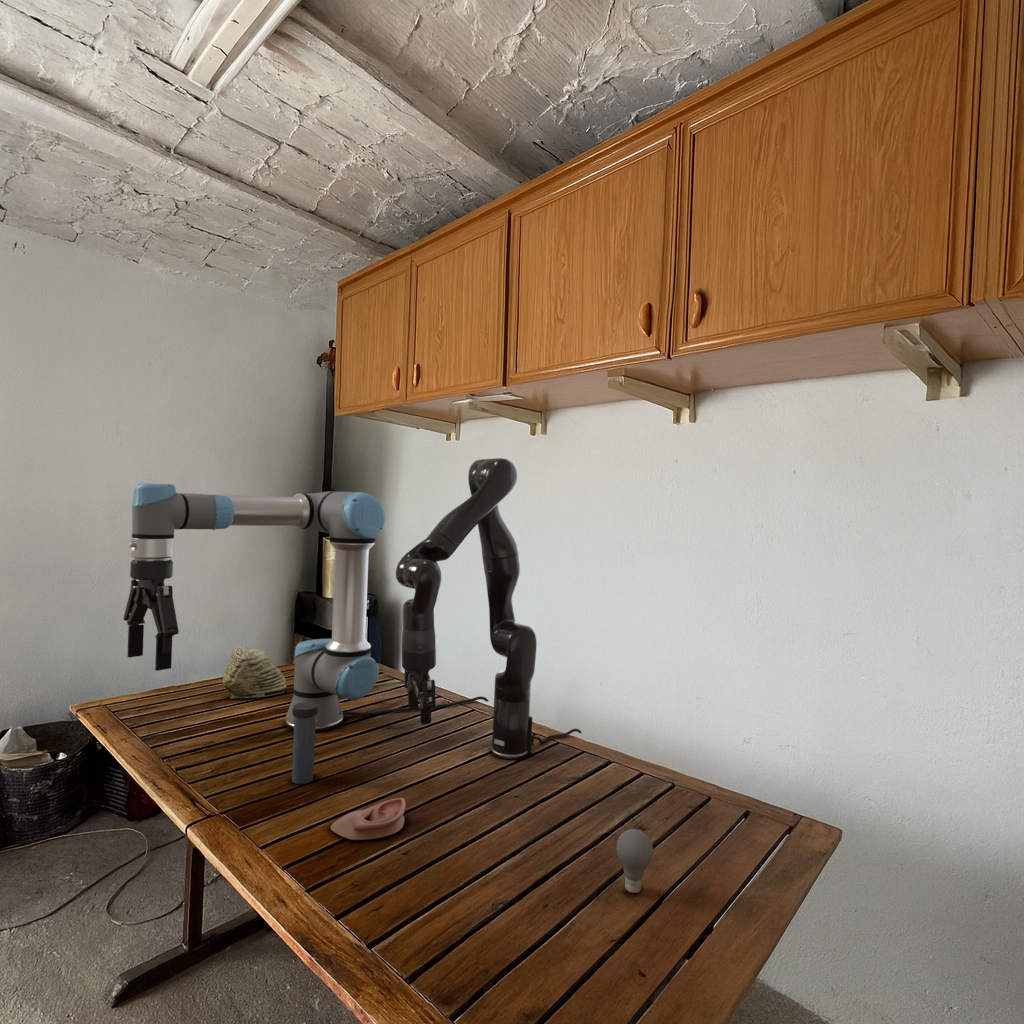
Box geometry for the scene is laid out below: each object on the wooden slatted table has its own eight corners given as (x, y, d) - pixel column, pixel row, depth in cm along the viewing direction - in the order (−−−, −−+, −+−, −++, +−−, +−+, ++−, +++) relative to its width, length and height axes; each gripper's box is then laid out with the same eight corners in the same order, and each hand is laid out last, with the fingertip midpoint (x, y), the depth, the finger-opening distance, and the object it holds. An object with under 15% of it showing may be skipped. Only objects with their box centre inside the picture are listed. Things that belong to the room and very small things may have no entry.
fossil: (218, 695, 195) (220, 647, 195) (278, 685, 208) (279, 640, 207) (228, 703, 189) (230, 653, 188) (289, 692, 201) (290, 645, 201)
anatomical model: (323, 814, 118) (350, 787, 130) (322, 835, 118) (350, 806, 130) (389, 824, 116) (412, 796, 127) (389, 846, 116) (411, 816, 127)
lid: (317, 717, 139) (317, 709, 139) (291, 718, 138) (291, 710, 138) (318, 709, 144) (318, 701, 144) (293, 710, 143) (293, 702, 143)
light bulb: (610, 879, 108) (613, 822, 108) (644, 879, 109) (647, 822, 109) (619, 902, 102) (622, 840, 102) (655, 901, 103) (658, 840, 103)
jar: (312, 783, 140) (315, 710, 140) (290, 784, 139) (293, 711, 138) (313, 774, 144) (316, 704, 144) (292, 775, 143) (295, 704, 143)
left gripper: (108, 554, 134) (104, 654, 134) (159, 565, 118) (155, 678, 119) (146, 552, 140) (143, 648, 140) (199, 563, 124) (195, 671, 124)
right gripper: (446, 653, 136) (446, 725, 138) (424, 635, 149) (424, 702, 150) (412, 658, 133) (413, 732, 134) (393, 639, 145) (393, 707, 147)
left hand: (148, 662), depth 129 cm, fingers open, 13 cm apart
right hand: (419, 716), depth 142 cm, fingers open, 8 cm apart
